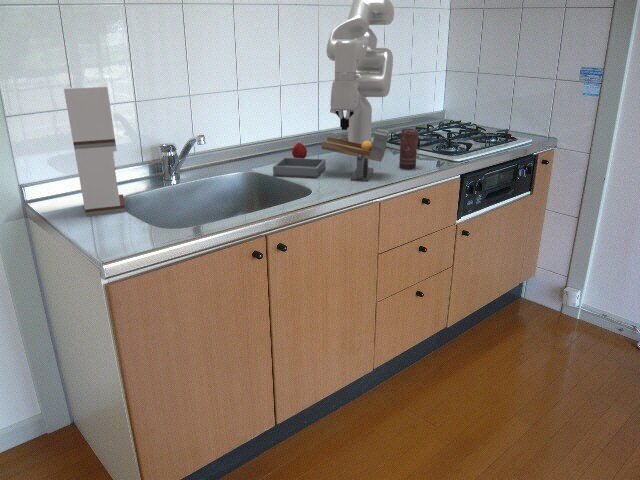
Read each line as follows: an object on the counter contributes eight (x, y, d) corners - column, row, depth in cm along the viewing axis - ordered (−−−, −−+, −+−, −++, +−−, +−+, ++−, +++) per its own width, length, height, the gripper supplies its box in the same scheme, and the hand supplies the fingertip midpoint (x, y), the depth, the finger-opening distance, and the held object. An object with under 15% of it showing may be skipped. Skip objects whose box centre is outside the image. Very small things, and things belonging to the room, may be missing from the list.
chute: (330, 139, 205) (335, 115, 201) (386, 151, 202) (391, 126, 198) (321, 148, 189) (325, 123, 186) (380, 161, 187) (386, 135, 183)
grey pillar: (125, 211, 159) (107, 87, 146) (86, 216, 155) (63, 88, 142) (124, 200, 169) (106, 82, 156) (86, 204, 165) (66, 84, 152)
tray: (284, 166, 207) (283, 157, 206) (325, 168, 204) (325, 159, 202) (273, 176, 194) (272, 166, 193) (317, 178, 191) (317, 168, 190)
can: (416, 170, 201) (418, 131, 195) (398, 169, 202) (400, 131, 197) (416, 166, 206) (419, 128, 201) (399, 165, 207) (401, 128, 202)
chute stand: (357, 169, 202) (357, 146, 198) (373, 170, 201) (374, 146, 197) (350, 180, 188) (351, 155, 185) (368, 181, 187) (368, 156, 184)
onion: (309, 160, 216) (309, 140, 213) (303, 163, 211) (302, 143, 208) (296, 159, 218) (295, 139, 215) (289, 162, 213) (289, 141, 210)
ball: (361, 149, 193) (363, 138, 192) (372, 152, 193) (374, 141, 191) (359, 152, 189) (361, 141, 188) (370, 154, 189) (373, 143, 187)
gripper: (367, 76, 196) (366, 128, 202) (326, 76, 199) (326, 127, 205) (364, 78, 189) (363, 132, 196) (322, 77, 192) (322, 130, 199)
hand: (344, 129), depth 200 cm, fingers closed
